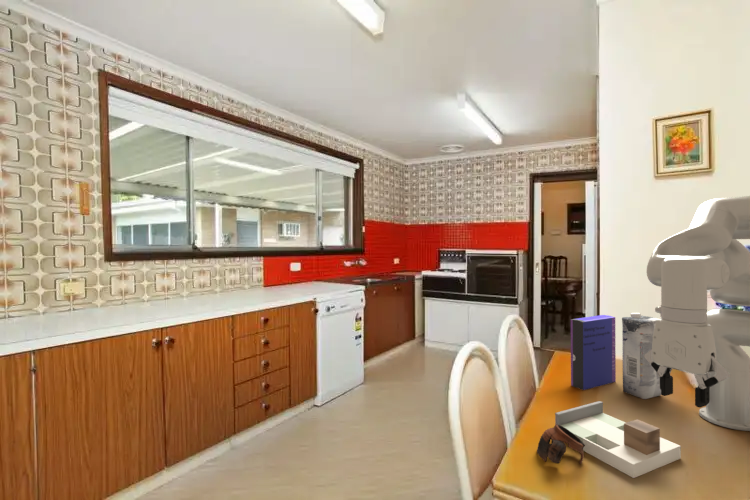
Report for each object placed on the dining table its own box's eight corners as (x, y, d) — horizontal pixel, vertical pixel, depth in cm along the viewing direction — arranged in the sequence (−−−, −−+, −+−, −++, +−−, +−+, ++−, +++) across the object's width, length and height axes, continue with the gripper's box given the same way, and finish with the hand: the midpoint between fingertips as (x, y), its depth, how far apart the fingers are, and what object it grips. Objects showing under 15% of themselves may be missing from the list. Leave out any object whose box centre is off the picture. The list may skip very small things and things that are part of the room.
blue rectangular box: (602, 377, 140) (602, 314, 140) (615, 382, 136) (615, 316, 136) (571, 385, 133) (570, 318, 133) (583, 390, 129) (583, 321, 128)
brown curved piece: (536, 444, 95) (553, 417, 95) (573, 473, 90) (591, 444, 90) (528, 455, 85) (547, 424, 85) (569, 487, 80) (589, 455, 80)
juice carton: (666, 396, 123) (666, 314, 122) (645, 401, 119) (645, 317, 119) (638, 386, 131) (638, 310, 131) (618, 391, 127) (618, 312, 127)
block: (637, 439, 91) (637, 419, 91) (659, 449, 86) (659, 428, 86) (623, 444, 89) (623, 423, 89) (646, 455, 84) (646, 433, 84)
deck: (680, 458, 88) (680, 433, 88) (633, 478, 81) (633, 450, 81) (599, 421, 106) (599, 400, 106) (555, 435, 99) (555, 412, 99)
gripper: (630, 310, 85) (630, 389, 86) (725, 325, 70) (725, 421, 70) (650, 308, 88) (650, 383, 89) (745, 321, 73) (745, 413, 73)
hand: (683, 399), depth 79 cm, fingers open, 5 cm apart
